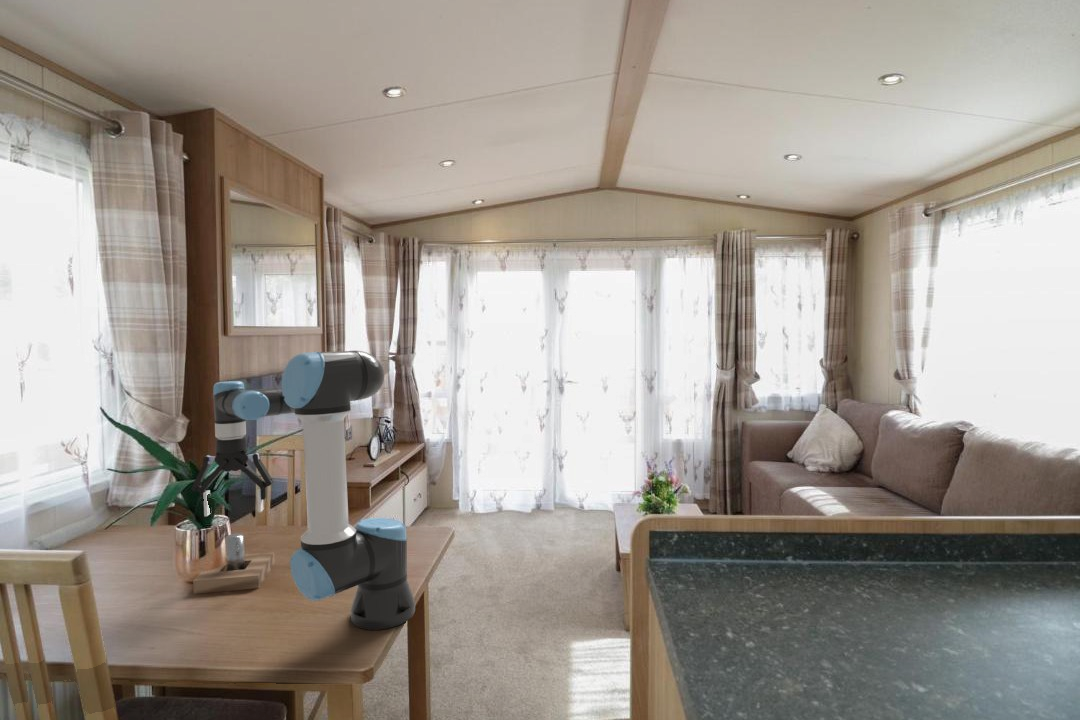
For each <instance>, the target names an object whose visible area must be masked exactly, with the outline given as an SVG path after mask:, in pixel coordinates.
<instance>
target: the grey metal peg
mask: <svg viewBox="0 0 1080 720" xmlns="http://www.w3.org/2000/svg"><path fill="white" fill-rule="evenodd" d="M244 539H245V537H244V533H242V532H241V533H240V532H239V533H237V532H236V533H230V534H228V535H226V536H225V554H226V558H227V571H233V570H245V559H244V555H245V540H244Z"/></svg>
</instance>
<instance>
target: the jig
mask: <svg viewBox="0 0 1080 720" xmlns="http://www.w3.org/2000/svg"><path fill="white" fill-rule="evenodd" d="M244 559H245V570H233V571H227V563H225V564H224V565H222V566H220V567H218V568H215V569H212V570H208V571H204V572H202V571H200V573H199V574H198V575H197V576H196V577H195V579H193V580H192V588H193V591H192V592H193V594H194V595H195V594H206V593H207V594H208V593H219V592H230V591H240V590H252V589H253V590H255V589H259V588H260V587H261V585H262V584H263V582H264V581H265V579H266V578H267V576H268V575H269V573H270V572H271V570H272V569H273V567H274V565H275V564H276V563H275V552H274V551H273V552H262V553H261V552H260V553H251V554H249V553H248V554H247V553H246V554H244Z"/></svg>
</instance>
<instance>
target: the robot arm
mask: <svg viewBox="0 0 1080 720" xmlns="http://www.w3.org/2000/svg"><path fill="white" fill-rule="evenodd" d="M384 380H385V371H384V368H383V366H382V363H381V362H380V361H379V359H377V357H375V356H374V355H373V354H371V353H369V352H366V351H362V350H344V351H343V350H341V351H340V350H339V351H338V350H335V351H312V352H304V353H303V352H301V353H299V354H298V353H297V354H296V355H294V356H292V358H290V360H289V361H288V363H287V364H286V366H285V368H284V370H283V374H282V380H281V387H274V388H272V387H271V388H260V389H251V390H248V389H247V390H246V389H245V384H244V382H243V381H242V380H241V381H240V380H231V381H230V380H229V381H219V382H216V383H215V384H214V385H213V393H212V399H213V414H214V435H215V438H216V440H215V454H216V455H215V456H214V455H211V454H207V455H206V456H203V459H202V465H201V468H200V470H199V472H198V473H197V476H196V478H195V480H194V482H193V484H192V486H191V491H193V492H198V493H199V498H200V497H203V499H204V501H203V502H201V503H200V504H201V505H203V516H204V517H208V516H209V515H211V514H212V512H211V513H210V508H209V505H208V501H207V495H208V494H210V495H211V490H210V489H209V490H208V488H209V487H210V486H211V485H212V484H213V482H214V481H215V480H216V478H218V476H220V474H221V473H222V472H223V471H224V472H226V473H227V472H231V471H232V472H238V471H241V472H243V473H244V474H245V475H246V476H247V477H248V478H249V479H250V480H251V481H252V482H253V483H255V485H257V487H258V488H257V489H256V498H257V499H256V500H257V513H262V512H263V510H264V509H265V508H264V500H266V499H267V487H270V486H271V485H273V483H274V479H273V478H272V476H271V475H270V473H269V471H268V470H267V468H266V466H265V465H264V463H263V461H262V460H261V455H260V452H255V453H252V454H249V453H248V443H247V442H248V441H247V437H246V435H247V421H258V420H260V419H262V418H266V417H273V416H274V417H275V416H279V415H289V414H294V416H296V418H298V419H299V420H300V421H301V422H302V433H303V434H302V436H303V455H304V456H303V458H304V479H305V497H306V502H305V503H306V521H307V522H306V523H307V525H306V526H307V529H306V530H305V532H304V533H303V534H302V535H301V536H300V548H299V549H296V550H295V551H294V552H293V553H292V555H291V557H290V562H289V565H290V571H291V572H290V573H291V576H292V579H293V581H294V584H295V586H296V587H297V589H298V591H299V592H300V593H301V595H302V596H304V598H306V599H307V600H310V601H313V602H317V601H321V600H324V599H327V598H332V597H334V596H335V595H337V594H340V593H343V592H344V591H346V590H347V591H348V590H349V589H352V588H355V587H356V586H357V587H356V591H355V594H354V597H353V600H352V603H351V604H352V605H351V607H350V621H351V623H352V624H353V625H354V626H355V627H357V628H360V629H364V630H370V631H377V630H385V629H391V628H395V627H397V626H400V625H402V624H405V623H406V622H407V621H409V620H410V619H411V618H412V617H413V616H414V614H415V611H416V601H415V597H414V595H413V592H412V590H411V589H412V588H411V587H410V583H409V581H408V560H407V559H408V557H407V541H408V537H407V528H406V525H405V524H404V523H403V522H402V521H400V520H398V519H394V518H390V517H389V518H388V517H371V518H364V519H360V520H359V521H358V522H356V526H355V527H354V526H353V525H351V524H350V523H349V503H348V482H347V481H348V480H347V478H348V477H347V462H346V461H347V456H346V437H345V435H346V434H345V418H346V417H347V416H348V415H349V414H350V413H351V406H352V405H351V402H355V401H361V400H366V399H369V398H371V397H373V396H374V395H376V394H377V393H378V392H379V391H380V390H381V387H382V386H383V384H384ZM246 453H248V455H247V454H246ZM248 460H250V461H251V462H252V463H253V464H254V466H255V467H256V469H257V471H258V473H259V474H260V475H259V474H258V473H257V472H256V471H255V470H254V469H253V468H252V467H251V466H250V464H248V463H247V462H248ZM214 462H215V463H216V464H217V465H218V466H217V467H216V468H215V469H214V471H213V472H212V473H211V474H210V476H209V477H208V478H207V479H206V480H205V482H204V483H203V480H204V479H205V477H206V475H207V473H208V471H209V469H210V467H211V465H212V464H213V463H214ZM208 468H209V469H208ZM202 483H203V484H202ZM206 489H207V490H206Z"/></svg>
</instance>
